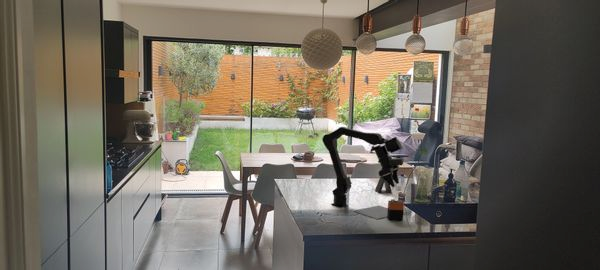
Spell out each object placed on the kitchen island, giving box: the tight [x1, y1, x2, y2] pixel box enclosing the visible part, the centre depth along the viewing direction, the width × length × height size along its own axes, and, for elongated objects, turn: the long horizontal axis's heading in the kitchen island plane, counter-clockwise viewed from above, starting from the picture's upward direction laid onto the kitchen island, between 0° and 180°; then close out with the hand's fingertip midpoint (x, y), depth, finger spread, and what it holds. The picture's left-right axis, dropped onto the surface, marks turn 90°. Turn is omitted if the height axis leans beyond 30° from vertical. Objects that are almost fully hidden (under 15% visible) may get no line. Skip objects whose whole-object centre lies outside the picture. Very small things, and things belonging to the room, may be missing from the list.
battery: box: [386, 199, 405, 222], centre depth 208 cm, size 4×7×10 cm, turn 92°
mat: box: [353, 205, 388, 220], centre depth 220 cm, size 16×20×1 cm
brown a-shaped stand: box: [374, 176, 393, 194], centre depth 266 cm, size 9×6×12 cm, turn 100°
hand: (395, 185), depth 216 cm, fingers open, 9 cm apart
